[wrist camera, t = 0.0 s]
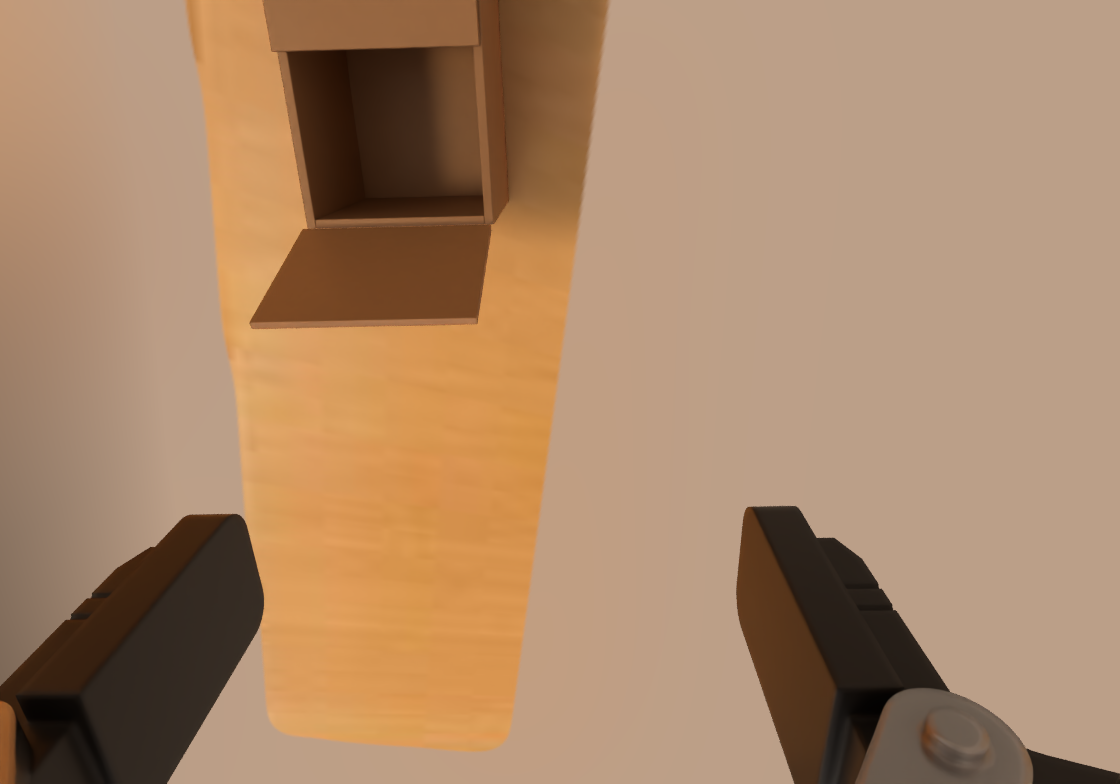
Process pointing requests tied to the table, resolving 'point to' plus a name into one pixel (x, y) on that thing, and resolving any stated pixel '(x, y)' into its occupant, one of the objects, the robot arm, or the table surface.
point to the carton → (394, 109)
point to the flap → (379, 278)
